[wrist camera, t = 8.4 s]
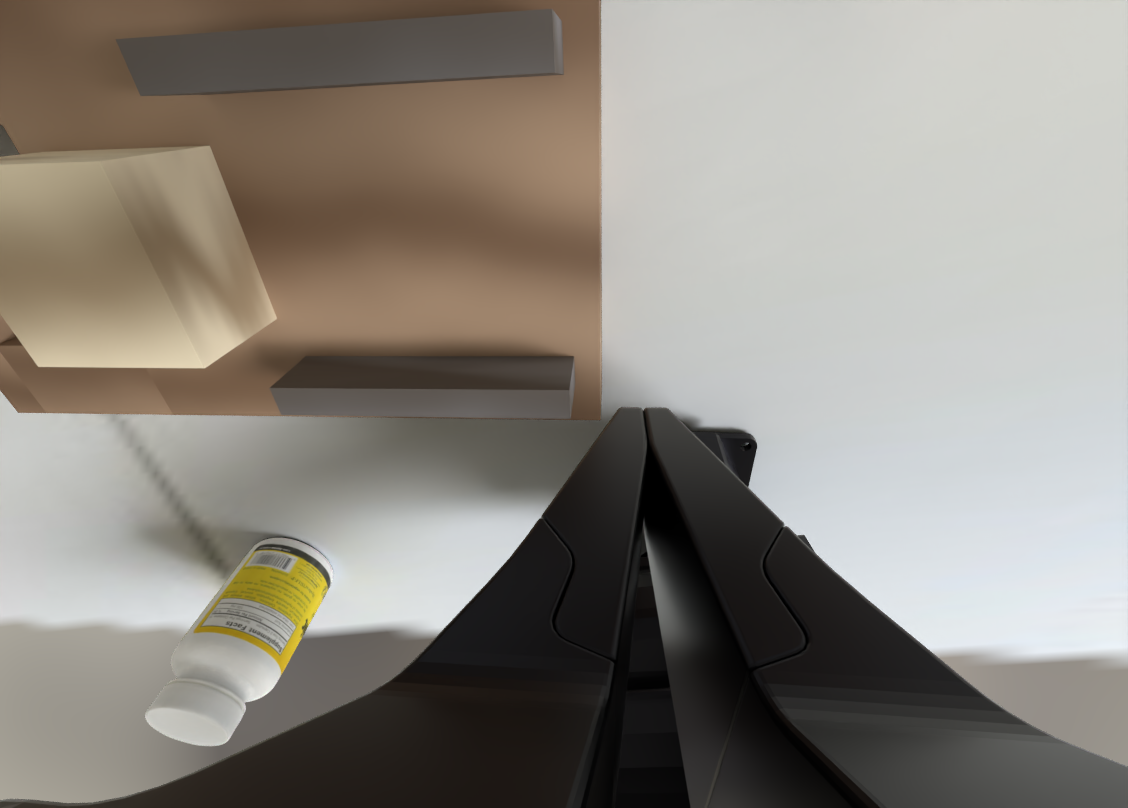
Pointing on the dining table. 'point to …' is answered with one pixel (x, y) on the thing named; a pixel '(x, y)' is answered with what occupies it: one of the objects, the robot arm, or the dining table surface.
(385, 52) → the lane board
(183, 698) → the supplement bottle
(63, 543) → the dining table surface
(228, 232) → the block
